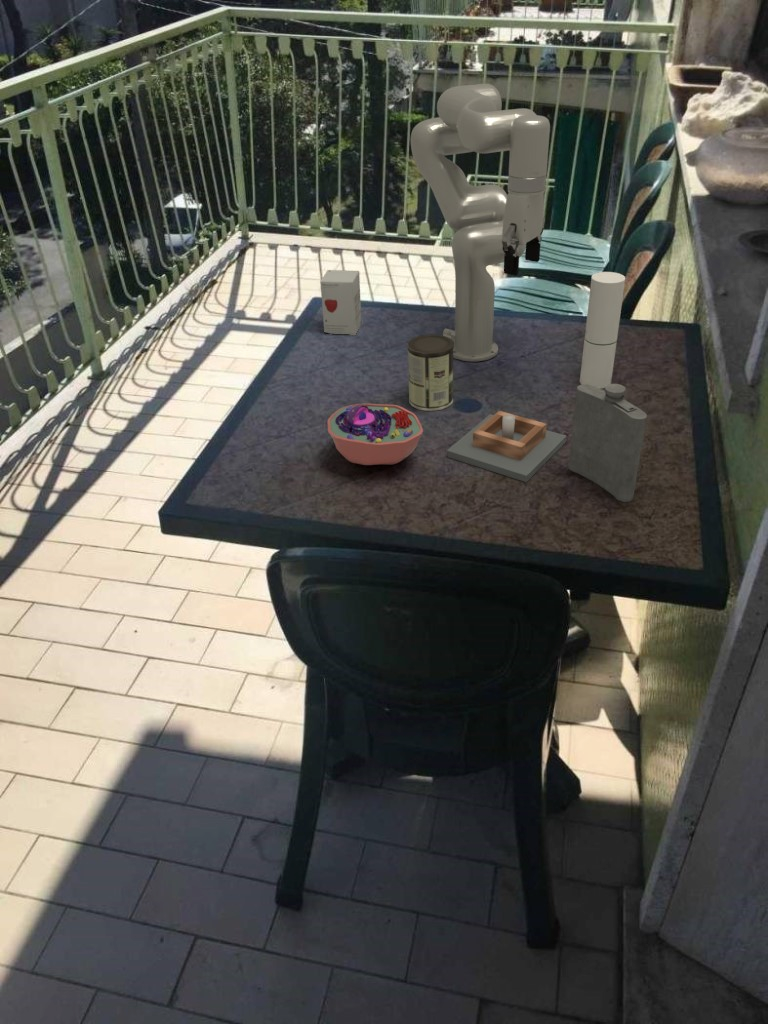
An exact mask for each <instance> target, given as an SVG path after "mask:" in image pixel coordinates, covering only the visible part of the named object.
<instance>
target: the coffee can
mask: <svg viewBox="0 0 768 1024" xmlns="http://www.w3.org/2000/svg"><path fill="white" fill-rule="evenodd" d="M453 348H454V342H453V340H452V339H450V338H448V337H446V336H443V334H421V335H418V336H414V337H412V338H410V339H408V342H407V343H406V349H407V364H408V365H407V366H408V367H407V368H408V396H409V397H408V402H409V405H410V406H411V407H412V408H415V409H417V410H421V411H426V412H427V411H428V412H436V411H441V410H445V409H447V408H449V407H450V406H451V405H452V404H453V403H454V357H453Z"/></svg>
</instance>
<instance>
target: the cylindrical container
mask: <svg viewBox="0 0 768 1024" xmlns="http://www.w3.org/2000/svg"><path fill="white" fill-rule="evenodd" d="M590 279H591V281H590V287H589V288H590V289H589V297H588V305H587V314H586V322H585V323H586V324H585V330H584V331H585V332H584V341H583V349H582V351H583V352H582V358H581V367H580V368H581V369H580V375H579V376H580V377H579V383H580V385H582V384H588V385H591V386H594V387H597V388H600V389H605V386H606V385H609V384H612V378H613V372H614V363H615V356H616V349H617V341H618V335H619V328H620V321H621V315H622V314H621V313H622V312H621V311H622V306H623V297H624V292H625V291H624V290H625V283H626V276H624V275H623V274H621V273H619V272H615V271H614V272H613V271H601V272H595V273H594V274H592V275H591V278H590Z"/></svg>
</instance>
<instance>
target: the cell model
mask: <svg viewBox="0 0 768 1024" xmlns="http://www.w3.org/2000/svg"><path fill="white" fill-rule="evenodd" d="M326 422H327V431H328V434H329V435H330V436H331V438H332V440H333V442H334V445H335V448H336V450H337V451H338V452H339V454H341V455H342V456H343V457H344V458H345V459H346V460H347V461H349V462H350V463H353V464H356V465H357V464H358V465H361V466H374V465H388V466H389V465H390V466H392V465H396V464H399V463H400V462H402V461H404V460H405V459H406V458H408V457H409V456H410V455H411V454H412V453H413V452H414V451H415V449H417V445H418V444H419V442H420V440H421V437H422V435H423V432H424V430H423V429H424V428H423V426H422V424H421V421H420V420H419V418H418V417H417V415H416V414H415V413H414V412H412V411H410V410H408V409H406V408H405V407H403V406H401V405H396V404H382V403H381V404H379V403H377V404H376V403H354V404H351V405H346V406H343V407H341V408H339V409H337V410H336V411H334V412H333V413H332V414H331V415H330V417H328V419H327V421H326Z"/></svg>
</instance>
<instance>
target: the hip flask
mask: <svg viewBox="0 0 768 1024" xmlns="http://www.w3.org/2000/svg"><path fill="white" fill-rule="evenodd" d="M626 389H627V388H626V387H625V386H624V385H622V384H619V383H611V384H609V385H606V386H605V388H604V389H603V388H601V389H600V388H597V387H594V386H591V385H588V384H580V385H577V386H576V393H575V395H576V396H575V402H574V413H573V421H572V431H571V441H570V449H569V455H568V456H569V458H568V466H567V468H568V469H569V471H571V472H572V473H573V472H574V473H576V474H578V475H580V476H582V477H584V478H586V479H588V480H590V481H592V482H593V483H595V484H596V485H597V486H600V487H601V488H602V489H604V490H605V491H606V492H608V493H609V494H610V495H612V496H613V497H614V498H615V499H616V500H618V501H620V502H622V503H629V502H631V501H633V499H634V495H635V489H636V485H637V484H636V483H637V478H638V470H639V465H640V460H641V459H640V458H641V453H642V448H643V442H644V436H645V431H646V430H645V429H646V425H647V418H648V415H647V413H646V412H645V411H644V410H642V409H640V408H639V407H637V406H636V405H634V404H633V403H631V402H629V401H628V400H626V399H625V398H624V397H625V394H626Z"/></svg>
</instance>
